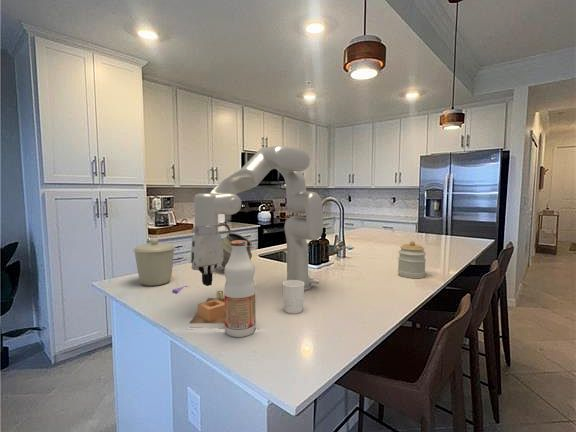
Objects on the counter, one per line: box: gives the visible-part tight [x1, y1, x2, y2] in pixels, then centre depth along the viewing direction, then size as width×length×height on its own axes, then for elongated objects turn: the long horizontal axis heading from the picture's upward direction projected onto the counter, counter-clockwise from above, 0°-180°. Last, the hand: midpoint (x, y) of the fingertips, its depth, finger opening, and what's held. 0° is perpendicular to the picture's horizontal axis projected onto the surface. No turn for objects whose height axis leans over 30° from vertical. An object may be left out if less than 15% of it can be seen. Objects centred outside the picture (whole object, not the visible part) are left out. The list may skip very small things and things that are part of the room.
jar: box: [397, 240, 427, 279], centre depth 161 cm, size 13×13×18 cm
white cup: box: [282, 280, 305, 314], centre depth 115 cm, size 8×8×10 cm
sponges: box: [171, 285, 190, 295], centre depth 135 cm, size 7×13×2 cm, turn 52°
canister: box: [132, 237, 176, 287], centre depth 148 cm, size 18×18×21 cm
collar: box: [197, 299, 225, 322], centre depth 107 cm, size 7×7×4 cm
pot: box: [218, 222, 253, 268], centre depth 171 cm, size 21×21×25 cm
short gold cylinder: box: [216, 290, 224, 302], centre depth 117 cm, size 2×2×4 cm
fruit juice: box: [223, 240, 257, 338], centre depth 98 cm, size 9×9×28 cm
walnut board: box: [189, 297, 225, 329], centre depth 112 cm, size 12×23×2 cm, turn 179°
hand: (207, 284), depth 108 cm, fingers closed
